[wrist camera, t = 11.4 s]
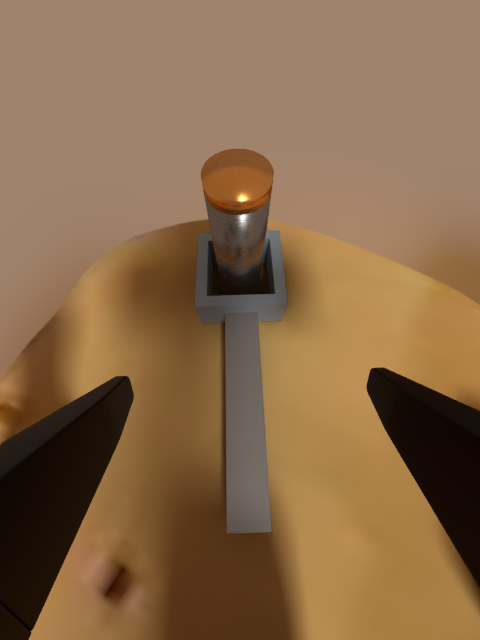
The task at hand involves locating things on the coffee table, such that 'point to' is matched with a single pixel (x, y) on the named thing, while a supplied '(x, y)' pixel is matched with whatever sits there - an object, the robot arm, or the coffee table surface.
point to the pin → (238, 215)
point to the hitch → (243, 380)
